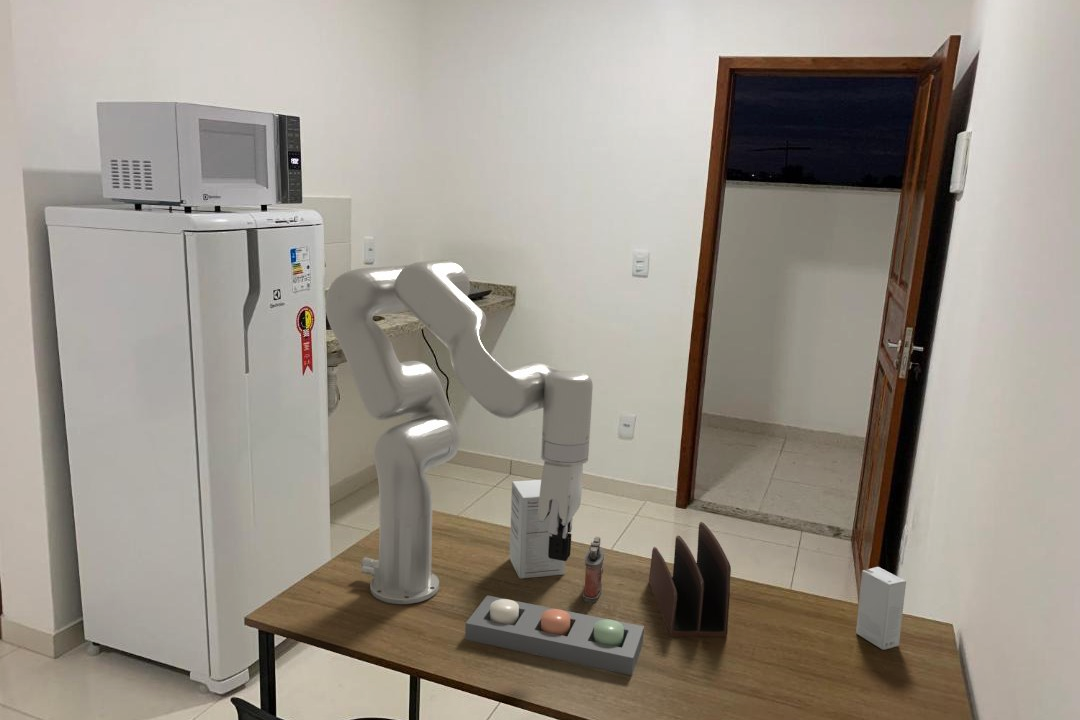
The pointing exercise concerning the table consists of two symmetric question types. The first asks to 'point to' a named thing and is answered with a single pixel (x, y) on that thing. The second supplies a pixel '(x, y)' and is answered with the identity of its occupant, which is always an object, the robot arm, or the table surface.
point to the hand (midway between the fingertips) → (559, 556)
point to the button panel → (556, 638)
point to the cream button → (504, 611)
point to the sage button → (608, 632)
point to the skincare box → (880, 607)
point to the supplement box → (530, 534)
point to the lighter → (593, 571)
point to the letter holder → (693, 587)
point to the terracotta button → (555, 622)
